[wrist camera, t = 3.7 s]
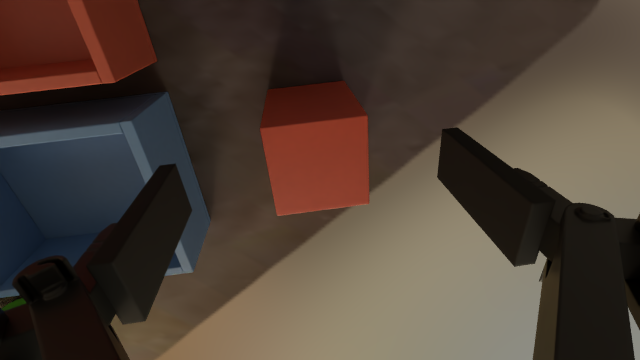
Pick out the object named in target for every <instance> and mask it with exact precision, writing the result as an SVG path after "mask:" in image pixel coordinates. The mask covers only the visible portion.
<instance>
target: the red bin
mask: <svg viewBox="0 0 640 360" xmlns="http://www.w3.org/2000/svg"><path fill="white" fill-rule="evenodd" d="M156 61H157V58H156V55H155V52H154V49H153V46H152V43H151V40H150V37H149V34H148V31H147V28H146V25H145V22H144V19H143V16H142V13H141V10H140V7H139V4H138V1H137V0H0V95H8V94H17V93H26V92H35V91H44V90H52V89H61V88H70V87H79V86H87V85H96V84H102V83H104V84H105V83H114V82H117V81H119V80H121V79H123V78H125V77H127V76H129V75H131V74H133V73H135V72H137V71H139V70H141V69H143V68H145V67H147V66H149V65H151V64H153V63H154V62H156Z"/></svg>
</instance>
